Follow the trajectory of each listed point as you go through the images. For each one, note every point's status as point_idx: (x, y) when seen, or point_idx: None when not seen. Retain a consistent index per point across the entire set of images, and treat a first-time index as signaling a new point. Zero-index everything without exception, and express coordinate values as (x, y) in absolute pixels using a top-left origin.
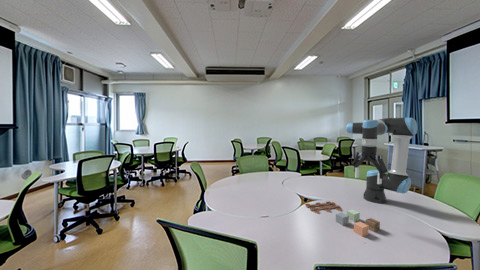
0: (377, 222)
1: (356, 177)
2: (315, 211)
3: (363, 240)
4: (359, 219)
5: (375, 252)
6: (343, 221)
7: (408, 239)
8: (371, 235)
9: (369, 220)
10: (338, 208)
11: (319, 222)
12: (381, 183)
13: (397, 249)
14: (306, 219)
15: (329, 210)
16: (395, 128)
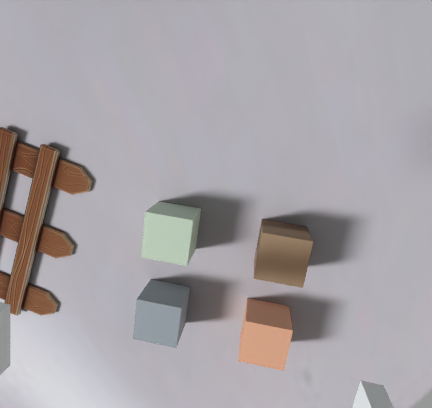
0: (307, 259)
1: (7, 363)
2: (36, 308)
3: (297, 365)
4: (200, 209)
5: None
6: (181, 330)
7: (427, 204)
8: (301, 304)
9: (270, 271)
10: (65, 176)
11: (115, 373)
12: (383, 390)
13: (411, 326)
14: (71, 392)
15: (59, 241)
16: None
